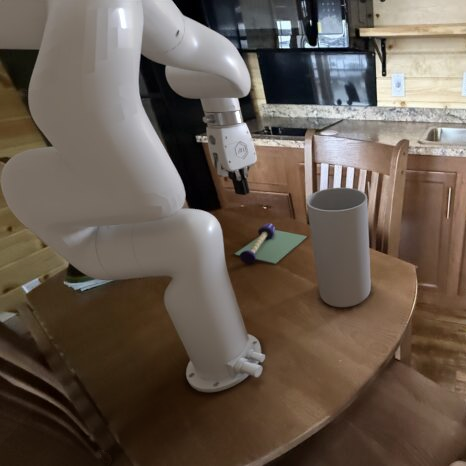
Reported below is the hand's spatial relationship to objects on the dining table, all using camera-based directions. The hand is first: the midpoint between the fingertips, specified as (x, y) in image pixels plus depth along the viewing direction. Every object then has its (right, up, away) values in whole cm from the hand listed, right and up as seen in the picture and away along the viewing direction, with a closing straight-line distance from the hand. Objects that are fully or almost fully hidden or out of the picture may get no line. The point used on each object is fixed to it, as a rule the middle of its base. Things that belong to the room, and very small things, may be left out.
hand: (242, 193), depth 81 cm
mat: (+2, -14, +15) cm, 21 cm away
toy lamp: (-2, -17, +5) cm, 18 cm away
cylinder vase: (+27, -25, -3) cm, 37 cm away
